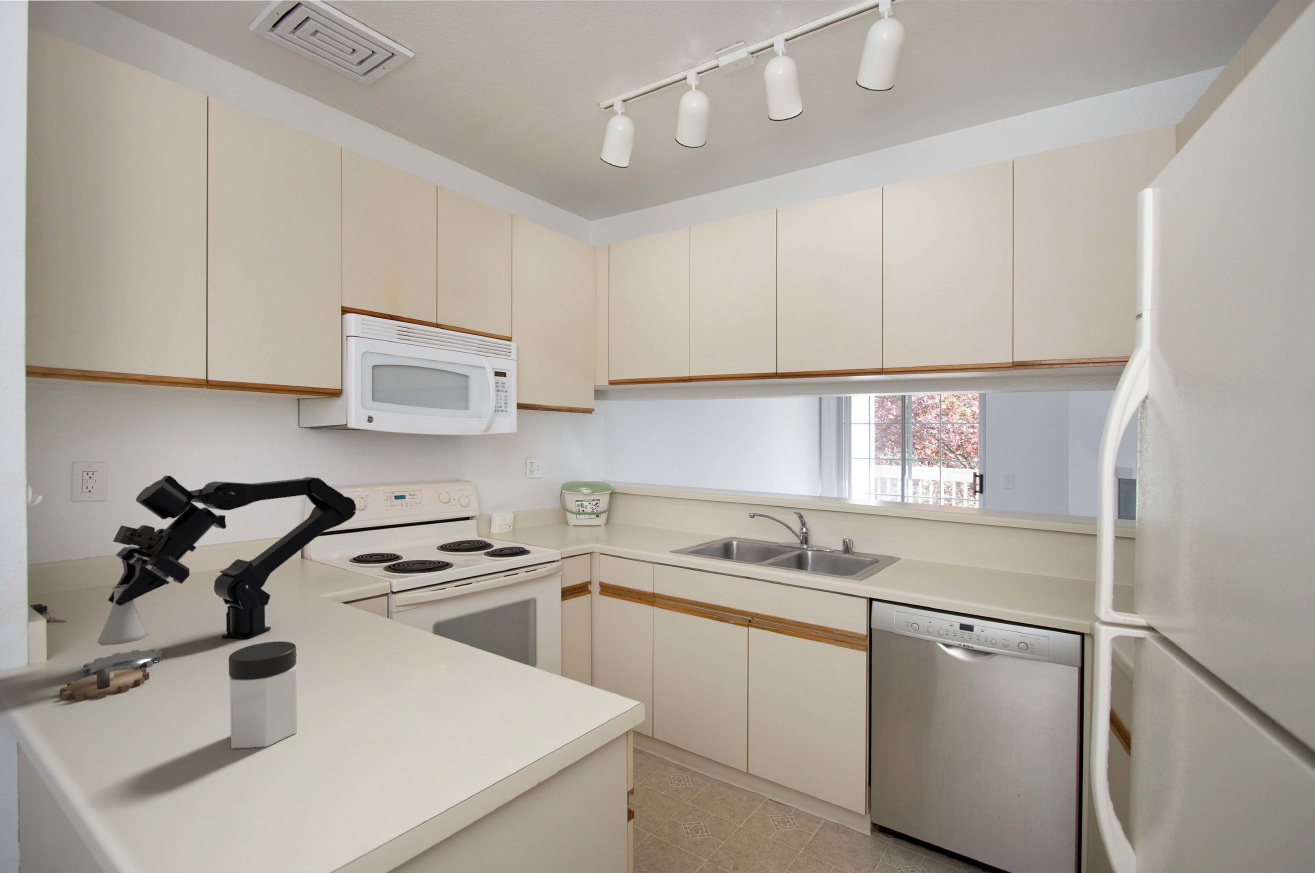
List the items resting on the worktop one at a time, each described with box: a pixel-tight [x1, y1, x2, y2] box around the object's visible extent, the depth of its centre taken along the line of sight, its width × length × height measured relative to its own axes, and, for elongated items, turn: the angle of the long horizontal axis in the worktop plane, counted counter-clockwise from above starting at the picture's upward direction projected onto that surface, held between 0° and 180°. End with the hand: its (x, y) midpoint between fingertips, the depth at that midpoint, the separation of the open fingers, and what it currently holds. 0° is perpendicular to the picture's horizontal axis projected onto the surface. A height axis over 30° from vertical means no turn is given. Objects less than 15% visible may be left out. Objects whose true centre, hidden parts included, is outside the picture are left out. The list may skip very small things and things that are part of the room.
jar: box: [228, 640, 299, 750], centre depth 88 cm, size 9×8×12 cm
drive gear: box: [59, 667, 150, 702], centre depth 105 cm, size 11×11×4 cm
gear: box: [81, 648, 163, 677], centre depth 115 cm, size 11×11×1 cm
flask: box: [97, 585, 149, 647], centre depth 115 cm, size 7×7×10 cm
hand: (113, 603), depth 114 cm, fingers closed on flask, 3 cm apart
